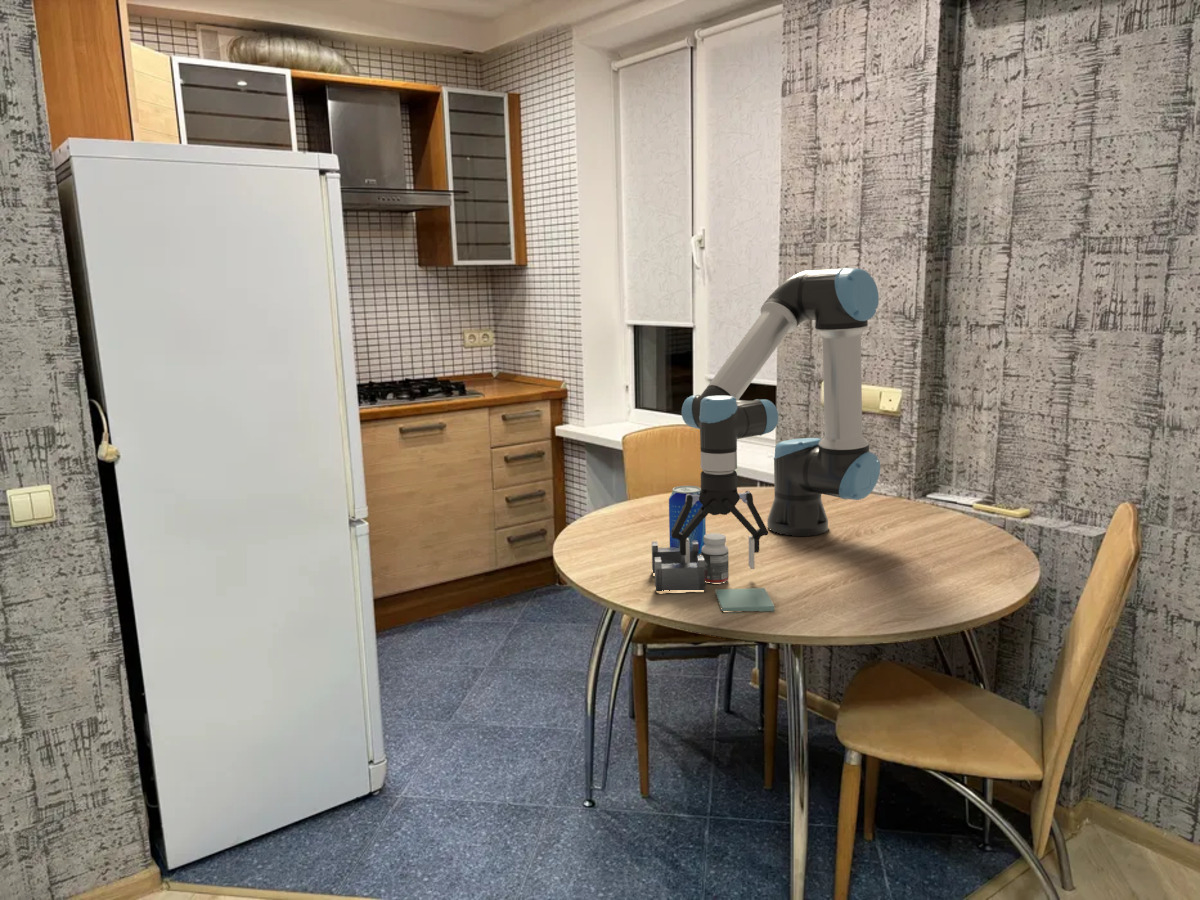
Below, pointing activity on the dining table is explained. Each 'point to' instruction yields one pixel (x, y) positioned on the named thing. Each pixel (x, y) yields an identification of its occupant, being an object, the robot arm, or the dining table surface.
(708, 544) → the pill bottle
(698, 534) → the beer can
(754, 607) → the coaster
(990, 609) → the dining table surface
